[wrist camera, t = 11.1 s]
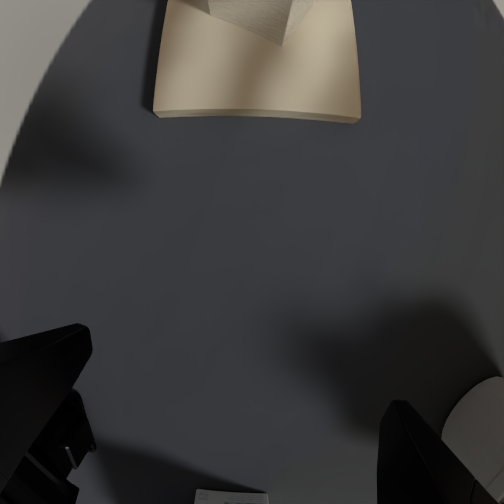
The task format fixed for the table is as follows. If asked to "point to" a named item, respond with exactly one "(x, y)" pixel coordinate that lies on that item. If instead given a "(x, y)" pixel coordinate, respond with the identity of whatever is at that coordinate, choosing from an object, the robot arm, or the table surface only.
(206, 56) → the birch board
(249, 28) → the aluminium block
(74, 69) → the table surface
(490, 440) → the potted plant
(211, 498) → the light bulb box
